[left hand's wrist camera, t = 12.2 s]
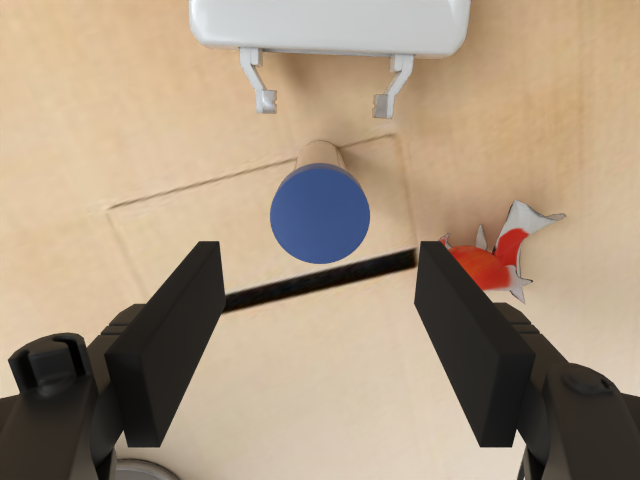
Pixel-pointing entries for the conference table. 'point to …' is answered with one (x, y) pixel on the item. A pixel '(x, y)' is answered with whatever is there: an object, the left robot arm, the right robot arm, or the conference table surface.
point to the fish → (502, 251)
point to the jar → (320, 155)
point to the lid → (320, 213)
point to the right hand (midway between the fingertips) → (324, 116)
